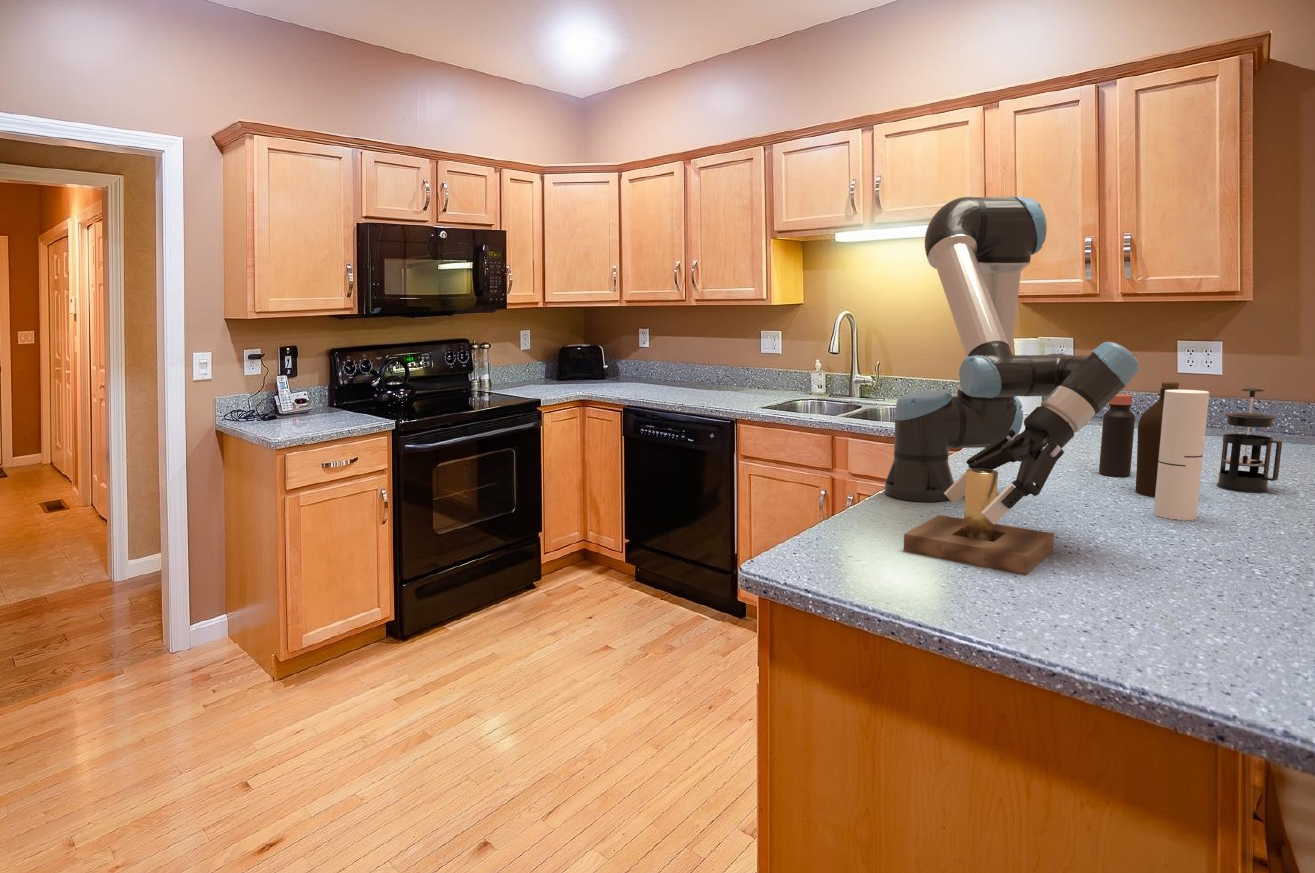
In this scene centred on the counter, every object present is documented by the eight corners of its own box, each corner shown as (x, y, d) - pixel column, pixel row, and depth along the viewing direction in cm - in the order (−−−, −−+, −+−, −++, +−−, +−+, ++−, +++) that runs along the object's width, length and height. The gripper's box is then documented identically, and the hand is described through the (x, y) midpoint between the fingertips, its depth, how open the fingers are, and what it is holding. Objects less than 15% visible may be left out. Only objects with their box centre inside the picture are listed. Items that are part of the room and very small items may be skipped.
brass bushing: (958, 551, 131) (962, 471, 129) (968, 544, 135) (972, 466, 133) (988, 556, 128) (992, 474, 126) (997, 549, 132) (1002, 470, 129)
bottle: (1119, 478, 186) (1126, 397, 183) (1092, 473, 192) (1099, 395, 188) (1136, 475, 189) (1143, 395, 186) (1109, 470, 195) (1115, 393, 192)
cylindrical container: (1203, 521, 147) (1216, 393, 143) (1163, 519, 149) (1174, 393, 145) (1186, 511, 154) (1198, 389, 150) (1147, 510, 156) (1158, 389, 152)
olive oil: (1160, 500, 164) (1171, 385, 160) (1120, 489, 174) (1130, 381, 170) (1201, 497, 166) (1212, 383, 162) (1159, 487, 176) (1169, 379, 172)
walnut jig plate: (903, 550, 132) (904, 533, 131) (937, 530, 144) (938, 514, 143) (1026, 574, 119) (1027, 556, 118) (1053, 550, 131) (1054, 533, 130)
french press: (1204, 485, 177) (1214, 387, 173) (1227, 481, 181) (1237, 385, 177) (1263, 496, 166) (1275, 392, 163) (1285, 491, 170) (1297, 389, 167)
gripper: (1120, 446, 117) (1021, 543, 118) (1030, 424, 142) (948, 504, 143) (1090, 413, 116) (990, 512, 117) (1004, 396, 140) (922, 478, 142)
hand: (967, 508), depth 130 cm, fingers open, 13 cm apart
